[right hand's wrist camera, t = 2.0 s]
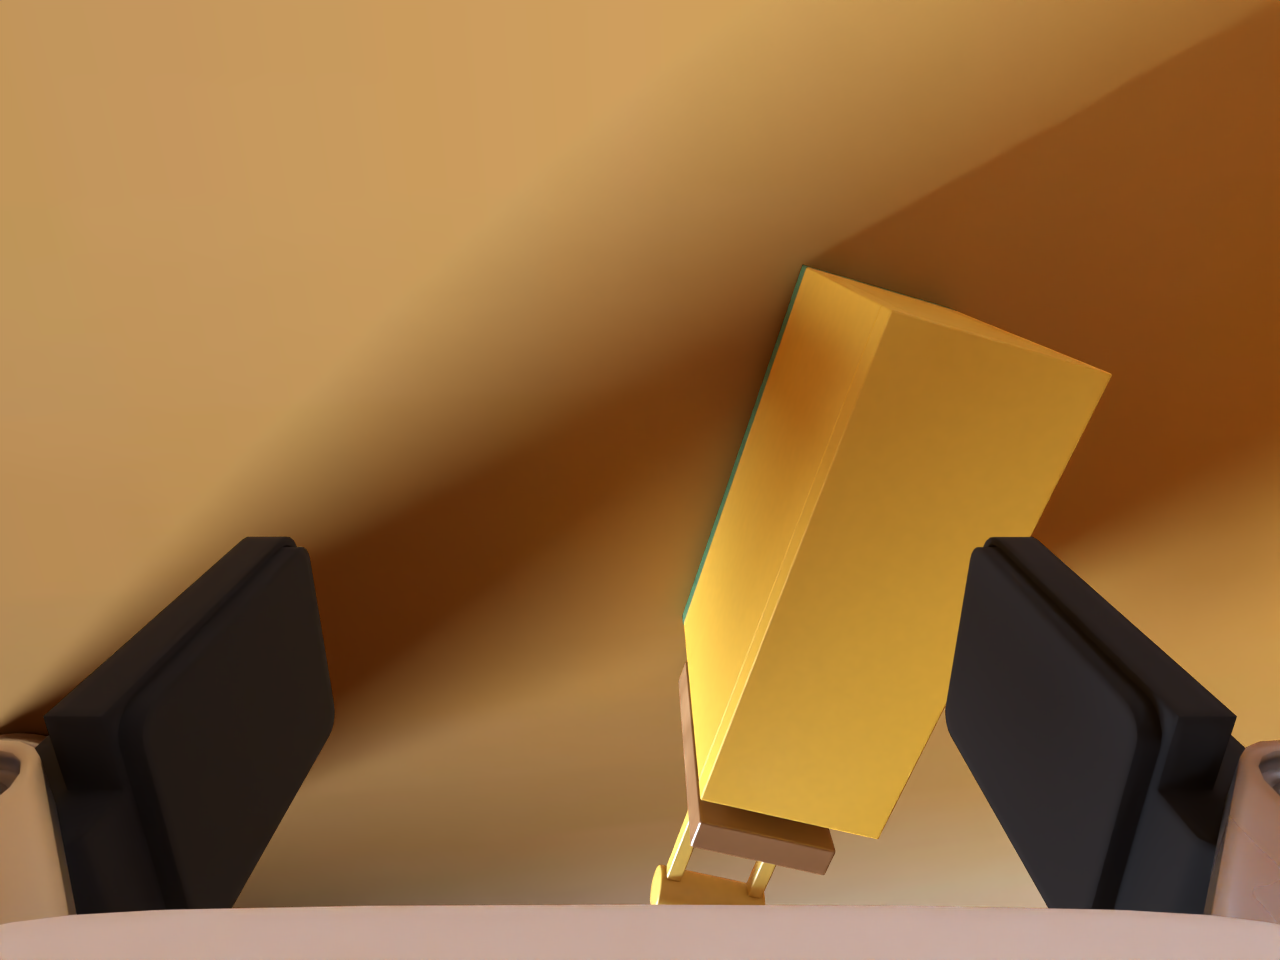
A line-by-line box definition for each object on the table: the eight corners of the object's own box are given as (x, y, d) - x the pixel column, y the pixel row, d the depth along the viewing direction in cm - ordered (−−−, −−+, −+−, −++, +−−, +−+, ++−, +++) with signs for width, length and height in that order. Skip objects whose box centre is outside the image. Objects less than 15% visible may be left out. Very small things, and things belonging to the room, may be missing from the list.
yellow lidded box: (808, 647, 36) (878, 840, 26) (682, 615, 36) (699, 800, 25) (950, 307, 31) (1114, 374, 20) (802, 264, 30) (890, 308, 20)
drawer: (739, 803, 39) (768, 991, 30) (642, 781, 38) (642, 966, 29) (903, 405, 31) (1009, 494, 22) (786, 372, 31) (846, 450, 22)
